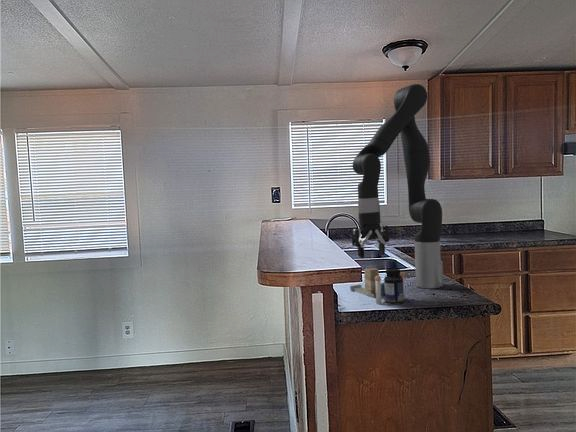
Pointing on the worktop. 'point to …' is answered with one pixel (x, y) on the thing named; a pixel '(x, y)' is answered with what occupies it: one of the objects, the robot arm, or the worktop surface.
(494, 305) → the worktop surface
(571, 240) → the worktop surface
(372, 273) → the kicker
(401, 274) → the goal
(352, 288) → the rail
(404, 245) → the worktop surface
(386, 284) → the pill bottle
